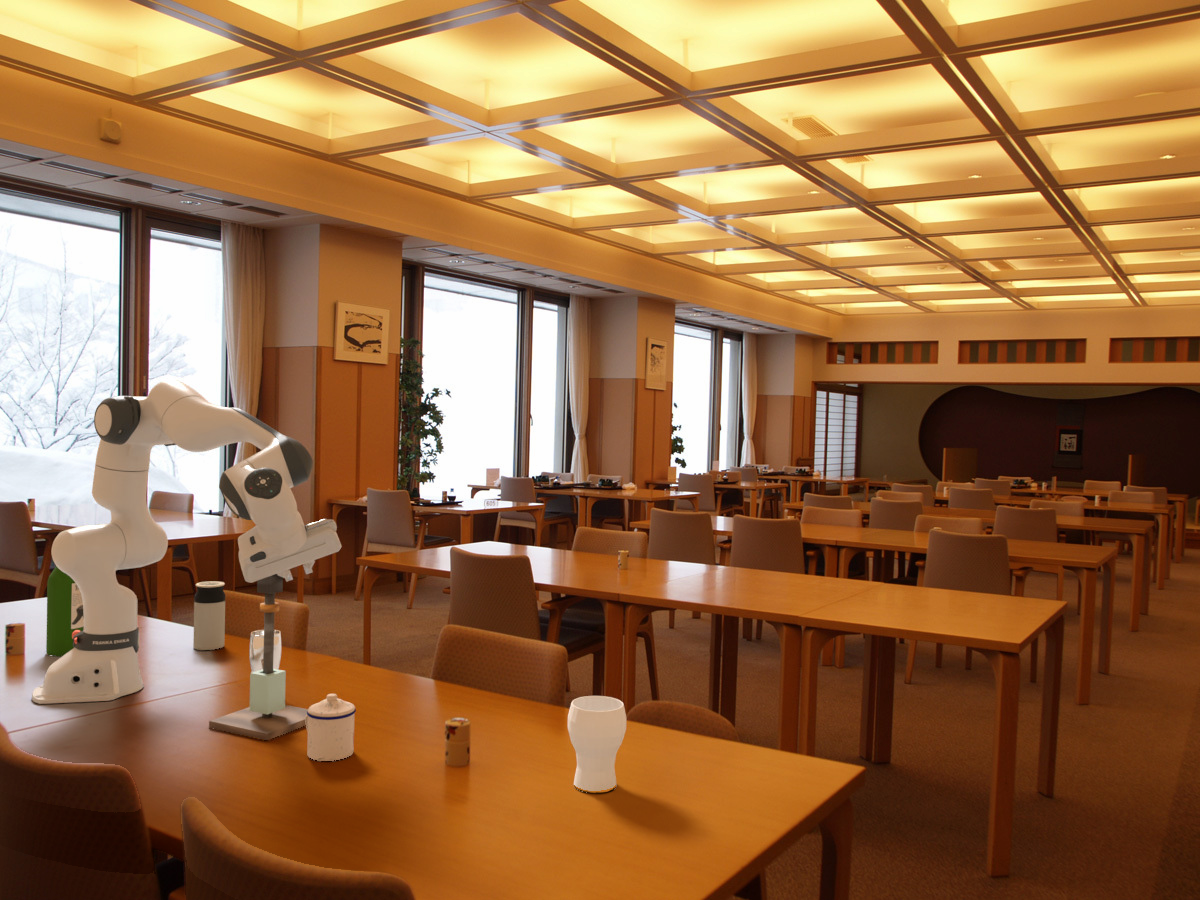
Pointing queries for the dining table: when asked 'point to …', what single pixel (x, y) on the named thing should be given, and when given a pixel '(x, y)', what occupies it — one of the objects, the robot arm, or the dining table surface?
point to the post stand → (254, 721)
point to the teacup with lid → (330, 729)
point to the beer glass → (258, 650)
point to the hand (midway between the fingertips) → (299, 574)
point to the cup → (596, 739)
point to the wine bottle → (62, 612)
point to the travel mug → (209, 616)
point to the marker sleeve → (267, 691)
